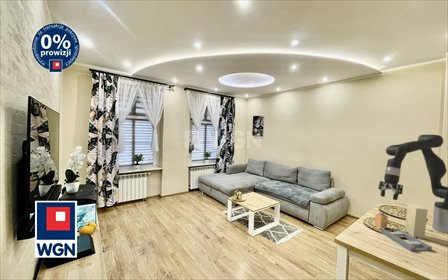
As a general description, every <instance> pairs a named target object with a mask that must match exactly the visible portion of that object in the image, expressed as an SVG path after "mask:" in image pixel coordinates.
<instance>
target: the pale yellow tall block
mask: <svg viewBox="0 0 448 280" xmlns="http://www.w3.org/2000/svg"><path fill="white" fill-rule="evenodd" d="M427 217H428V209H427V208H426V207H424V206H422V205H420V204H414V203H407V207H406V218H405V228H404V232H405V233H407V232H408V233H409V235H410V234H411V235H412V236H414V237H415V238H416V237H417V238H416V239H425V237H426V227H427V219H428V218H427ZM408 233H407V234H408Z"/></svg>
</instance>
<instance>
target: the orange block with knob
mask: <svg viewBox="0 0 448 280" xmlns="http://www.w3.org/2000/svg"><path fill="white" fill-rule="evenodd" d="M374 216H375V217H374V226H375V225H376V226H377V227H376V226H375V227H376V228H378V227H379V228H381V229H382V228H388V218H389V216H388V215H386V214H385V213H384V212H382V211H379V212H375V215H374ZM379 228H378V229H379ZM381 229H380V230H381Z"/></svg>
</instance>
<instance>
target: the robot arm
mask: <svg viewBox="0 0 448 280" xmlns="http://www.w3.org/2000/svg"><path fill="white" fill-rule="evenodd" d="M443 144H444V138H443V136H441V135H438V134H420V135H419V136H418V138H417V140H413V141H412V140H411V141H406V142H403V143H400V144H398V143H397V144H392V145H389V146H387V147H386V149H385V153H386V154H387V155H388V156H392V157H393V158H389V159H387V162H386V168H385V171H384V176H383V181H382V180H380V181H379V184H378V190H380V197H383V198H385V195H386V191H387V190H391V191H392V192H393V195H392V196H393V197H392V200H394V201H397V200H398V199H399V195H403V191H404V190H403V187H404V185H402V184H400V178H401V167H402V163H403V162H404V159H405V157H406V155H407V154H409V153H413V152H416V151H417V152H418V151H421V154H422V156H423V159H424V162H425V166H426V169H427V172H428V175H429V181H430V187H431V191H432V195H433V196H434V197H437V198H440V199H443V201H435V202H434V205H433V208H434V209H433V218H432V229H433V230H435V231H438V232H441V233H444V234H448V186H445V185H443V184H442V178H444V176H446V174H447V167H446V166H447V165H446V163H445V161H444V160H443V159H442V158H441V157H440V156H439V155H438V154H437V153H435V152H434V151H433V149H435V148H440V147H441V146H443ZM432 148H433V149H432ZM398 183H399V184H398Z"/></svg>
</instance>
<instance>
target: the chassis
mask: <svg viewBox="0 0 448 280" xmlns="http://www.w3.org/2000/svg"><path fill="white" fill-rule="evenodd" d="M390 231H391V230H390ZM390 231H388V230H387V229H380V234H382V235H383V236H385V237H387V238H388V239H390V240H392V241H393V242H395V243H396V244H398V245H399V246H401V247H402V248H404V249H406V250H408V251H410V252H423V251H424V252H428V251H430V252H431V251H432V248H433V247H432V246H431V245H430V244H428V243H426V242H424V241H422V240H420V239H419V238H416V237H413V236H411V235H410V234H408V233H407V232H406V231H403V230H401V229H400V228H395V229H394V231H395V232H390ZM398 236H399V237H398ZM401 236H404V237H406V238H407V239H406V240H404V239H402V237H401ZM404 237H403V238H404Z"/></svg>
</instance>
